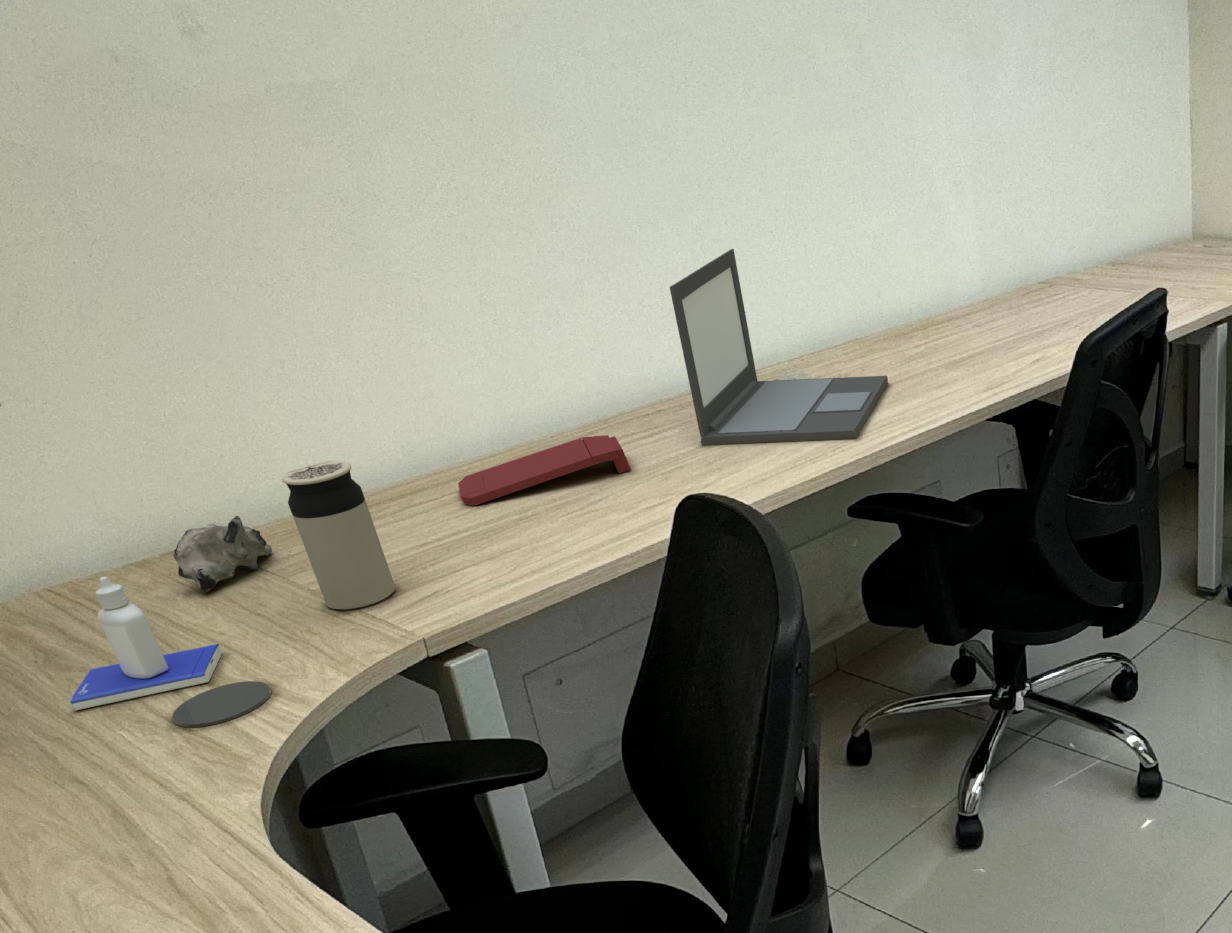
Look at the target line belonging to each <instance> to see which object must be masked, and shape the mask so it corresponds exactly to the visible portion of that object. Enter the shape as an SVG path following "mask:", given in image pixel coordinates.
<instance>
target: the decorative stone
mask: <svg viewBox="0 0 1232 933" xmlns="http://www.w3.org/2000/svg"><path fill="white" fill-rule="evenodd" d="M234 516H235V517H233V518H232V519H231V520H230V521H229V522H228V524H227V526H225V525H217V524H215V523H209V524H207V525H206V526H204V527H196V528H189V529H186V531H185V532H184V534H183V535H182V537H181V539H179V541H178V543H177V545H176V547H175V548H174V550H173V552H174V554H173V559H174V560H175V561H176V563H177V565H178V571H177V572H178V573H177V574H178V576H179V577H182V578H184V579H188V580H193V581H194V582H195V583H196V585H197V587H198V589H199V590H200V591H203V592H205V593H208V592H210V591H211V590H212V589H213V588H215V587H216V585H217V584H218V582H220V581H222V580H225V579H232V578H233V577H234V576H235V573H236V572H235V569H236V568H237V567H239V566H240V567H241V566H243V567H246V568H248V569H250V570H252V571H253V570H258V569H259V565H258V564H257V560H258V557H268V556H269V554H271V553H272V552H273V549H272V545H271V544H267V541H266V540H265V538H264V537H262V534H261V531H260V530H257V529H255V528H252V527H250V526H245V525H244V524H243V522H242V519H241V517H240V516H239V515H234Z"/></svg>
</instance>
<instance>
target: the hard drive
mask: <svg viewBox="0 0 1232 933" xmlns="http://www.w3.org/2000/svg"><path fill="white" fill-rule="evenodd" d="M222 655H223V650H222V649H221V646H220V644H219V643H215V644H210V645H206V646H202V647H195V648H191V649H185V650H181V651H176V652H171V653H170V652H169V653H166V654H163V656H164V658H165V660H166V662H167V665H168V670H167V671H165V672H163V673H161V674H158V675H156V676H154V677H151V678H146V679H139V678H132V677H129V676H127V675H125V674H124V673H123V671H122V669H121V667H120V665H119V663H115V664H110V665H105V666H99V667H96V668H91V669H89V670H88V672H87V674H86V675H85V676H84V678H83V680H82V681H81V683H80V684H79V686H78V687H77V689H76V690H75V692H74V693H73V695H72V696H71V698H70V705H71V707H72V709H73V711H81V710H83V709H88V708H93V707H98V706H104V705H108V704H113V703H117V702H122V701H127V700H131V699H135V698H140V697H145V696H150V695H154V694H158V693H164V692H168V691H173V690H177V689H178V690H179V689H182V688H187V687H193V686H196V685H200V684H201V685H202V684H205V683H206V684H207V683H209V682H210V680H211V678H212V676H213V673H214V672H215V669H216V667H217V666H218V663H219V661H220V659H221V657H222Z"/></svg>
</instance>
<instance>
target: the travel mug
mask: <svg viewBox="0 0 1232 933" xmlns="http://www.w3.org/2000/svg"><path fill="white" fill-rule="evenodd" d="M351 470H352V465H351V464H350V463H349V462H347V461H343V460H328V461H321V462H315V463H310V464H306V465H303V466H298V467H296V468H294V469H291V470H289V471H287V472H285V473H284V474H283V475H282V477H281V481H282V483H283V484H285V485H286V486H287V488H288V489H289V491H290V493H289V497H288V500H287V504H288V507H289V510H290V512H291V515H292V518H293V520H294V523H295V525H296V528H297V531H298V534H299V536H300V540H301V541H302V544H303V547H304V550H305V552H306V555H307V558H308V560H309V563H310V565H311V568H312V571H313V574H314V576H315V579H316V581H317V583H318V587H319V589H320V592H321V594H322V598H323V600H324V602H325V605H326V607H328V608H330V609H333V610H346V611H347V610H357V609H362V608H365V607H368V606H373V605H374V604H377V603H379V602H381V601H383V600H385V599H387V598H388V597H390V595H392V594H393V593H394V592H395V590H396V585H395V581H394V579H393V577H392V572H391V570H390V568H389V564H388V561H387V559H386V556H385V553H384V550H383V548H382V544H381V542H380V538H379V536H378V533H377V530H376V526H375V524H374V522H373V519H372V515H371V512H370V509H369V507H368V503H367V500H366V498H365V495H364V492H363V489H362V487H361V486H360V485H359V484H358V483H357V482H356V481H355V480H354V479H353V478H352V475H351Z"/></svg>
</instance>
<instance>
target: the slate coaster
mask: <svg viewBox="0 0 1232 933" xmlns="http://www.w3.org/2000/svg"><path fill="white" fill-rule="evenodd" d="M271 695H272V690H271V687H270V685H269V684H267V683H266V682H263V681H258V680H257V681H256V680H247V681H238V682H233V683H227V684H224V685H220V686H216V687H214V688H210V689H208V690H205V691H203V692H201V693H198V694H196V695H194V696H192V697H190V698H189V699H186V700H185V701H184V702H182V703H181V704H180V705H179V706H177V707H176V709H174V711H173V713H172V720H173V722H174V724H176V725H177V726H178V727H179V726H180V727H184V728H203V727H209V726H214V725H218V724H222V723H225V722H229V721H231V720H234V719H237V718H239V717H242V716H245V715H246V714H249V713H250V712H252V711H254V710H256V709H257V708H259V707H261V706H262V705H263V704H264V703H266V702H267V700H268V699H269V698H270V697H271Z"/></svg>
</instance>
